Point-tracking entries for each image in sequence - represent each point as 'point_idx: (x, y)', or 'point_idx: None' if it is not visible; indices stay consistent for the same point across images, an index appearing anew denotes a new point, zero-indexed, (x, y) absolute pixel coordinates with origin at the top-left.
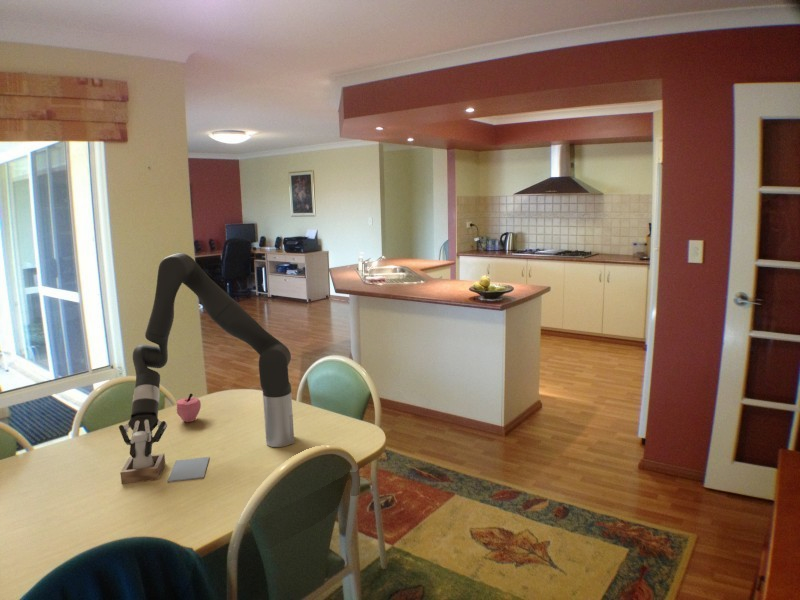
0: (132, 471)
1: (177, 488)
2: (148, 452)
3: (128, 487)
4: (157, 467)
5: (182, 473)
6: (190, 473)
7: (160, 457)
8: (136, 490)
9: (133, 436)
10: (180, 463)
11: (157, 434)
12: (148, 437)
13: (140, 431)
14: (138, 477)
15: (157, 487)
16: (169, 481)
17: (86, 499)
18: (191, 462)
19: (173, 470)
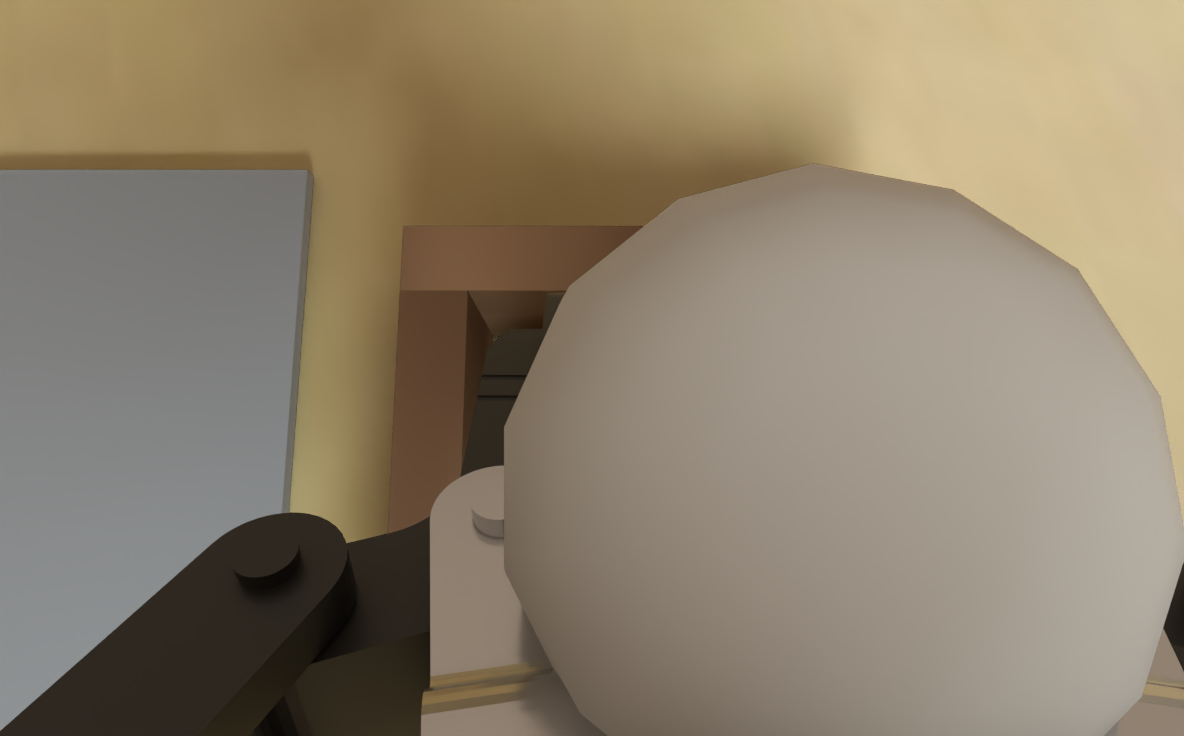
0: None
1: (183, 8)
2: (527, 334)
3: (773, 168)
4: (403, 251)
5: (132, 326)
6: (27, 299)
7: None
8: (654, 73)
9: (1058, 258)
10: None
11: (161, 656)
12: None
13: (871, 650)
14: None
15: (418, 85)
16: (288, 176)
17: (1179, 6)
18: (18, 654)
19: (261, 453)
